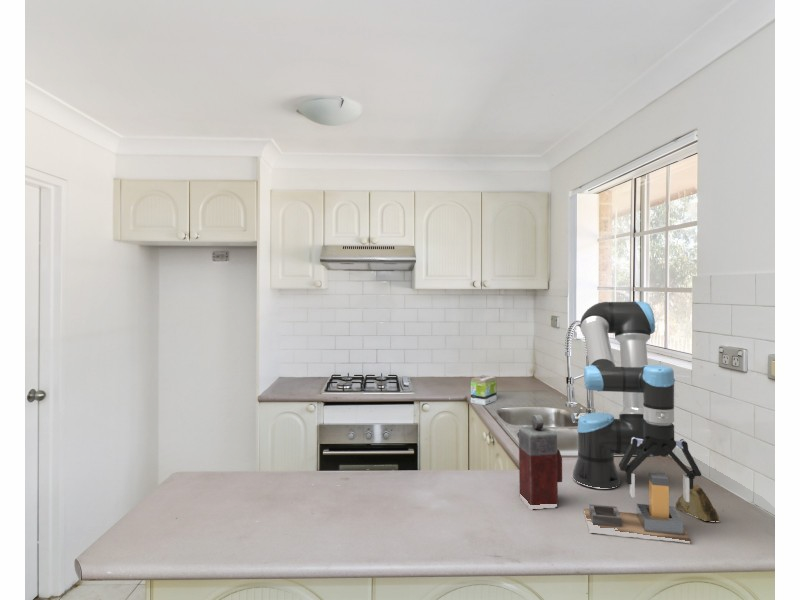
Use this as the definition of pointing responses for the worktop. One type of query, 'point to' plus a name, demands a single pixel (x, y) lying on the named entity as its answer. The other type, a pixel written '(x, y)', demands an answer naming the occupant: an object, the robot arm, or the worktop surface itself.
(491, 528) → the worktop surface
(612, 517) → the board
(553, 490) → the red rectangular canister
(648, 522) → the port
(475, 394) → the tea box
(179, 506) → the worktop surface
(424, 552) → the worktop surface
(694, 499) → the rock
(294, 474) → the worktop surface
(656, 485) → the plug
